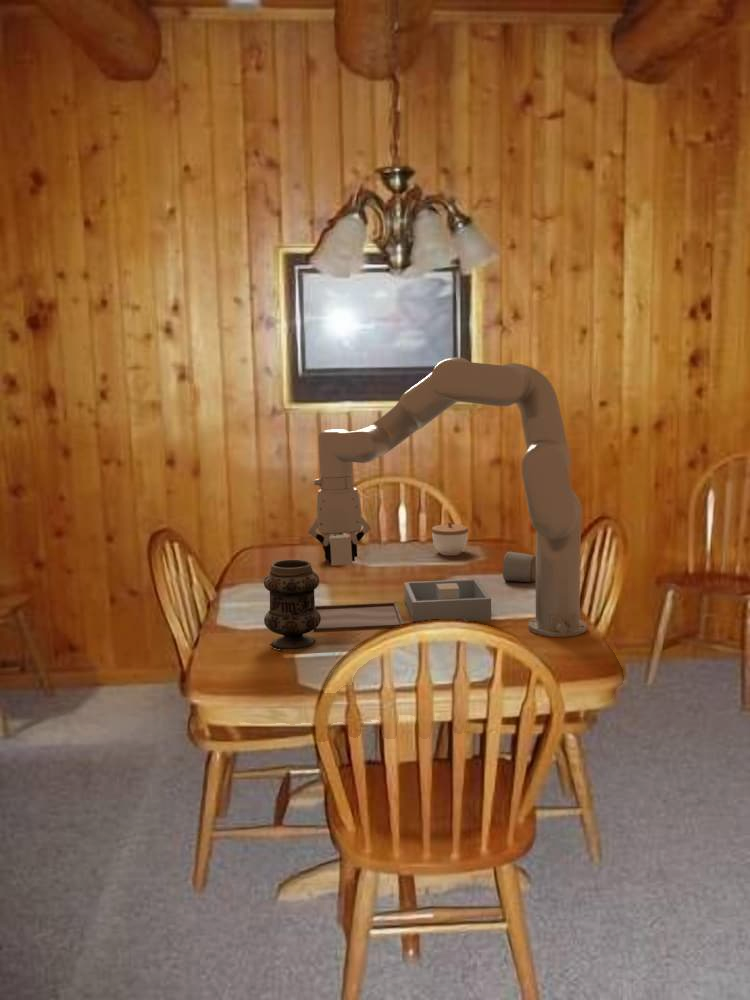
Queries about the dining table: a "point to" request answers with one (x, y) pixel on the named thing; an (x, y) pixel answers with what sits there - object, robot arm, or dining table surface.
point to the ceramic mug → (519, 567)
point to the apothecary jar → (292, 603)
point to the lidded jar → (450, 538)
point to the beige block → (447, 591)
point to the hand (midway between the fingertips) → (341, 560)
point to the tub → (447, 601)
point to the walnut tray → (358, 616)
